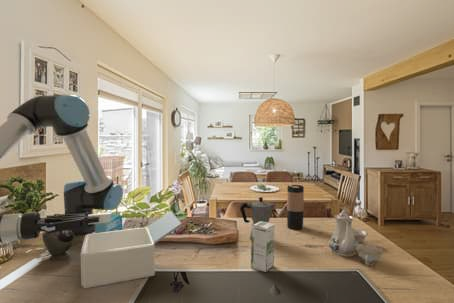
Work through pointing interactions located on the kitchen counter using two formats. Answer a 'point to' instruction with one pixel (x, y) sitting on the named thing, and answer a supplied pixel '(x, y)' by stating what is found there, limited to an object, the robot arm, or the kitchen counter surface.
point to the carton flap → (164, 226)
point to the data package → (110, 225)
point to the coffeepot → (258, 212)
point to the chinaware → (352, 241)
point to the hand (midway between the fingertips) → (110, 217)
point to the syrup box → (262, 246)
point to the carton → (117, 257)
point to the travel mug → (295, 207)
